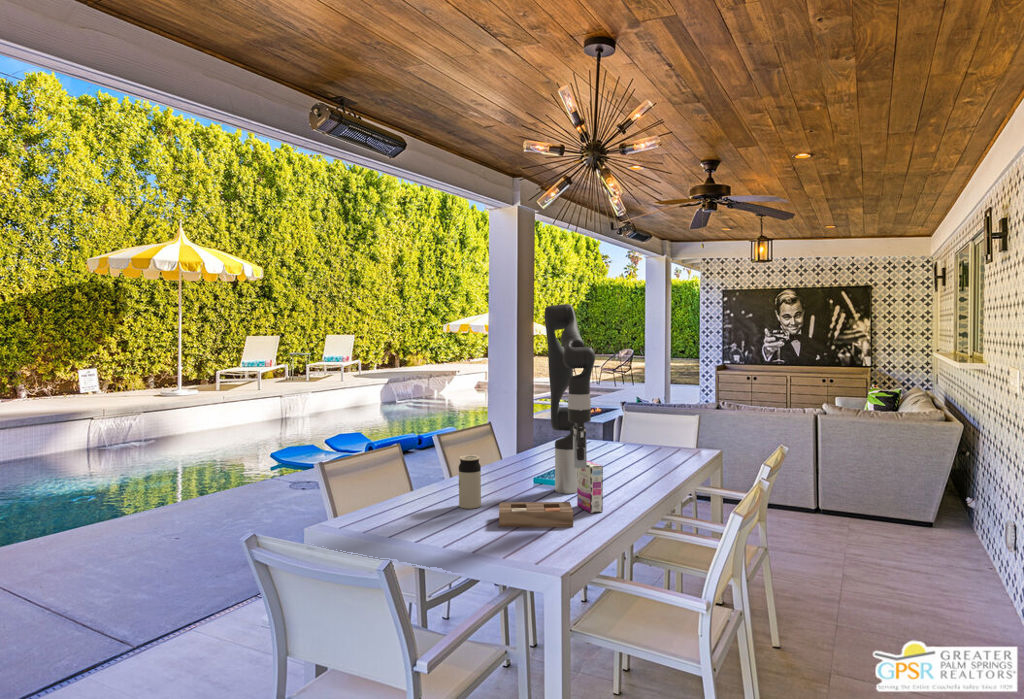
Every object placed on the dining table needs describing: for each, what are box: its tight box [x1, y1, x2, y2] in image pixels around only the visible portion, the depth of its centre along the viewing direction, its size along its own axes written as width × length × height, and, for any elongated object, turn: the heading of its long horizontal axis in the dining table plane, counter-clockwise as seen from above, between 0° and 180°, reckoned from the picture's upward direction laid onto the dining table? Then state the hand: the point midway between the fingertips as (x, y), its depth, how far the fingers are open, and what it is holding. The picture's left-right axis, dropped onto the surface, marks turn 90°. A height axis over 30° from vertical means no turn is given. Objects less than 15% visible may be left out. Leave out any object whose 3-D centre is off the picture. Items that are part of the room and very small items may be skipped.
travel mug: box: [458, 454, 482, 510], centre depth 239 cm, size 8×8×18 cm
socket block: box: [498, 501, 574, 528], centre depth 219 cm, size 12×24×5 cm, turn 90°
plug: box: [573, 436, 588, 468], centre depth 219 cm, size 4×4×10 cm
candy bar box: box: [576, 460, 604, 514], centre depth 234 cm, size 11×5×16 cm, turn 21°
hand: (579, 458), depth 219 cm, fingers closed on plug, 4 cm apart
